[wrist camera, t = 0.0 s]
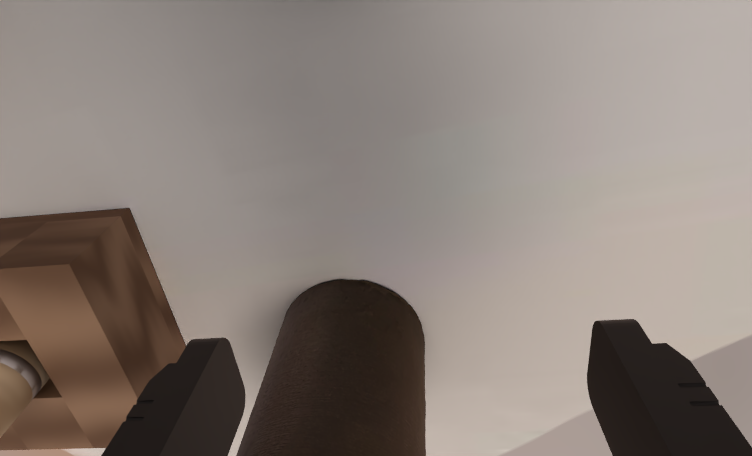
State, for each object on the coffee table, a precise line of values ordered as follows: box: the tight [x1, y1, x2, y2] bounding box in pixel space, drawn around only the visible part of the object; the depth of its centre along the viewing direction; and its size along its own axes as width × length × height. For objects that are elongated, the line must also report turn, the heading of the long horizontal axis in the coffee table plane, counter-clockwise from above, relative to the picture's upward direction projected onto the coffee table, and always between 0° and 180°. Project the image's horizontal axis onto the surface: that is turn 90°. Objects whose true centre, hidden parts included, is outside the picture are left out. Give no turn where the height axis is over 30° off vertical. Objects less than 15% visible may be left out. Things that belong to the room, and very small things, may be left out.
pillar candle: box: [237, 280, 426, 456], centre depth 27 cm, size 10×10×15 cm
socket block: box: [0, 208, 186, 450], centre depth 31 cm, size 14×14×6 cm
